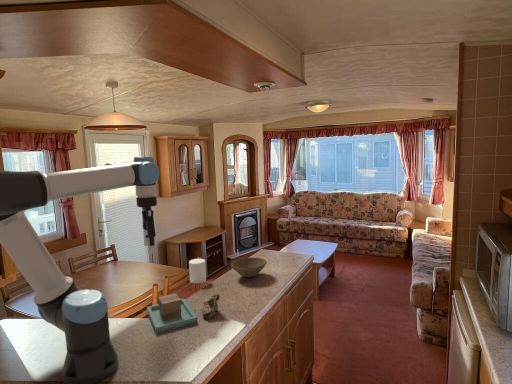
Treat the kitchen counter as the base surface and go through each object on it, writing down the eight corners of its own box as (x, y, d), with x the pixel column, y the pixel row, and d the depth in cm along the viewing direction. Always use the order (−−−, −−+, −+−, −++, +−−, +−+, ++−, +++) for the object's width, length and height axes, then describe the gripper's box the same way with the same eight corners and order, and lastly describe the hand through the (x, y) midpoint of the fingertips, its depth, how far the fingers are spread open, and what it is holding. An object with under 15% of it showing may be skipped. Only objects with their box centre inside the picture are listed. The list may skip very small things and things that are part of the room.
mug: (192, 264, 164) (183, 258, 174) (193, 284, 165) (185, 277, 175) (207, 261, 168) (198, 255, 178) (208, 281, 169) (199, 274, 179)
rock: (226, 314, 130) (224, 291, 137) (211, 311, 127) (209, 288, 134) (215, 324, 135) (213, 301, 142) (199, 322, 131) (198, 298, 138)
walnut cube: (181, 316, 131) (180, 299, 130) (163, 321, 128) (162, 303, 127) (177, 309, 137) (175, 293, 136) (159, 313, 134) (158, 297, 133)
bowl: (233, 270, 183) (233, 256, 182) (267, 270, 183) (266, 255, 182) (229, 283, 165) (229, 268, 164) (267, 283, 164) (266, 267, 163)
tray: (197, 322, 128) (197, 317, 127) (156, 333, 121) (155, 327, 120) (183, 303, 145) (183, 298, 144) (147, 311, 138) (146, 306, 137)
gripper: (161, 198, 120) (164, 256, 122) (152, 192, 142) (155, 241, 145) (139, 200, 117) (143, 259, 119) (133, 193, 139) (137, 243, 142)
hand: (149, 249), depth 132 cm, fingers open, 13 cm apart
